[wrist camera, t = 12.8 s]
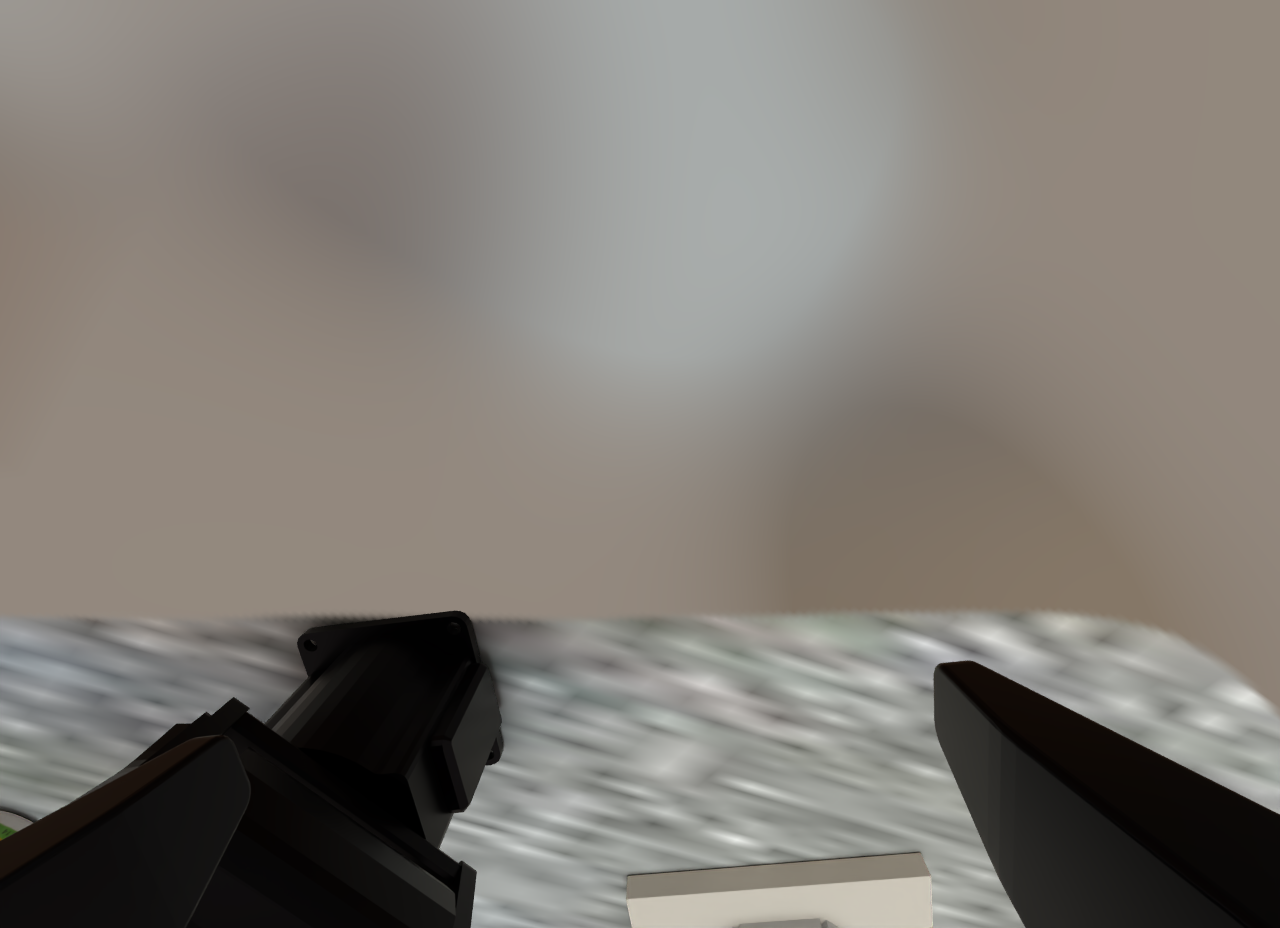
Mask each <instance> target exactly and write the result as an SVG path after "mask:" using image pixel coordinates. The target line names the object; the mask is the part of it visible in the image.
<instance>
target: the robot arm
mask: <svg viewBox="0 0 1280 928" xmlns="http://www.w3.org/2000/svg"><path fill="white" fill-rule="evenodd" d="M452 622H454V623H457V624H459V625H460V627H461V629H456V628H454V627H453V626H452V625H451V623H452ZM310 640H313V641H315V642H316V644H317V645H314V644H313V643H312V642H311V641H310ZM297 644H298V649H299V652H300V655H301V657H302V660H303V663H304V666H305V669H306V672H307V675H308V678H307V679H306V680H305V682H304V683H303V684H302V685H301V686H300V687H299V688H298V689H297V690H296V691H295V692H294V693H293V694H292V695H291V696H290V697H289V699H288V700H287V701H286V702H285V703H284V704H283V705H282V706H281V707H280V708H279V709H278V710H277V711H276V712H275V713H274V714H273V715H272V717H271V718H270V719H269V720H268V721H267V722H266V723H265V724H264V723H262V722H261V721H259V720H258V719H257V718H255V717H254V716H252V715H251V714H250V713H248V712H247V711H248V710H249V709H250V708H248V707H247V706H246V705H244V704H243V703H241V702H240V701H239V700H237V699H236V698H235V697H233V698H232V699H231V700H230V701H228V702H227V703H226V704H225V705H224V706H222V707H221V708H220V709H219V710H217V711H216V712H215V713H214V714H213V715H210V714H209V713H207V712H205V713H204V714H203V715H202V716H200V717H199V718H198V719H197V720H195V721H194V722H193V723H192V724H176V725H174V726H173V727H172V728H171V729H170V730H169V731H168V732H166V733H165V734H164V735H163V736H162V737H161V738H160V739H158V740H157V741H156V742H155V743H154V744H153V745H152V746H150V747H149V748H148V749H147V750H146V751H145V752H143V753H142V754H141V755H140V756H139V757H138V758H136V759H135V760H134V761H133V762H131V763H130V764H129V765H128V766H126V767H125V768H124V769H123V770H121V771H120V772H118V773H117V774H115V775H114V776H112V777H111V778H109V779H107V780H106V781H104V782H103V783H101V784H100V785H98V786H96V787H95V788H93V789H92V790H90V791H88V792H87V793H85V794H84V795H82V796H81V797H79V798H77V799H76V800H74V801H73V802H71V803H70V804H68V805H66V806H64V807H62V808H60V809H59V810H57V811H55V812H53V813H51V814H49V815H47V816H46V817H44V818H42V819H40V820H38V821H36V822H34V823H32V824H31V825H29V826H27V827H25V828H23V829H21V830H19V831H17V832H16V833H14V834H12V835H10V836H8V837H6V838H4V839H2V840H1V841H0V928H471V919H472V910H473V901H474V892H475V883H476V874H477V872H476V870H474V869H473V868H472V867H470V866H469V865H467V864H466V863H465V862H463V861H461V862H459V863H458V862H456V861H455V860H454V859H452V858H451V857H449V856H448V855H447V854H445V853H444V852H442V851H441V850H440V849H439V848H440V845H441V843H442V840H443V838H444V836H445V833H446V831H447V828H448V826H449V824H450V821H451V819H452V816H453V814H454V813H459V812H464V811H465V810H466V809H467V807H468V806H469V805H470V803H471V801H472V798H473V795H474V793H475V790H476V788H477V785H478V782H479V780H480V777H481V775H482V772H483V770H484V767H485V765H492V764H495V763H497V762H498V761H499V759H500V757H501V754H502V752H503V743H502V739H501V735H500V731H499V728H500V726H501V723H502V719H501V715H500V711H499V707H498V704H497V700H496V696H495V692H494V688H493V684H492V680H491V676H490V672H489V669H488V667H487V666H486V665H485V664H484V663H483V662H481V658H480V655H479V651H478V647H477V643H476V639H475V635H474V631H473V628H472V624H471V621H470V618H469V617H468V616H467V615H466V614H465V613H463V612H461V611H448V612H440V613H431V614H423V615H415V616H406V617H398V618H390V619H382V620H373V621H365V622H357V623H348V624H340V625H332V626H324V627H315V628H311V629H308V630H307V631H306V632H305V633H304V634H303V635H302V636H301V637H299V639H298V642H297ZM934 721H935V729H936V733H937V737H938V740H939V743H940V745H941V748H942V750H943V752H944V755H945V757H946V759H947V762H948V764H949V766H950V768H951V771H952V773H953V775H954V778H955V780H956V782H957V784H958V787H959V789H960V791H961V794H962V796H963V798H964V801H965V803H966V805H967V807H968V810H969V812H970V814H971V817H972V819H973V821H974V823H975V826H976V828H977V830H978V833H979V835H980V837H981V840H982V842H983V844H984V846H985V849H986V851H987V853H988V856H989V858H990V860H991V862H992V864H993V866H994V869H995V871H996V873H997V875H998V877H999V879H1000V881H1001V883H1002V885H1003V887H1004V889H1005V891H1006V893H1007V895H1008V896H1009V898H1010V900H1011V902H1012V904H1013V906H1014V908H1015V909H1016V911H1017V913H1018V915H1019V917H1020V918H1021V920H1022V922H1023V924H1024V926H1025V927H1026V928H1280V814H1278V813H1276V812H1274V811H1272V810H1270V809H1268V808H1266V807H1264V806H1262V805H1260V804H1258V803H1256V802H1254V801H1252V800H1250V799H1248V798H1246V797H1244V796H1242V795H1240V794H1238V793H1236V792H1234V791H1232V790H1230V789H1228V788H1226V787H1224V786H1222V785H1220V784H1218V783H1216V782H1214V781H1212V780H1210V779H1208V778H1206V777H1204V776H1202V775H1200V774H1198V773H1196V772H1194V771H1192V770H1190V769H1188V768H1186V767H1184V766H1182V765H1180V764H1178V763H1176V762H1174V761H1172V760H1170V759H1168V758H1166V757H1164V756H1162V755H1160V754H1158V753H1156V752H1154V751H1152V750H1150V749H1148V748H1146V747H1144V746H1142V745H1140V744H1138V743H1136V742H1134V741H1132V740H1130V739H1128V738H1126V737H1124V736H1122V735H1120V734H1118V733H1116V732H1114V731H1112V730H1110V729H1108V728H1106V727H1104V726H1102V725H1100V724H1098V723H1096V722H1094V721H1092V720H1090V719H1088V718H1086V717H1084V716H1082V715H1080V714H1078V713H1076V712H1074V711H1072V710H1070V709H1068V708H1066V707H1064V706H1062V705H1060V704H1058V703H1056V702H1054V701H1052V700H1050V699H1048V698H1046V697H1044V696H1042V695H1040V694H1038V693H1036V692H1034V691H1032V690H1030V689H1028V688H1027V687H1025V686H1023V685H1021V684H1019V683H1017V682H1015V681H1013V680H1011V679H1009V678H1007V677H1005V676H1003V675H1001V674H999V673H997V672H995V671H993V670H991V669H989V668H987V667H985V666H983V665H981V664H979V663H976V662H974V661H958V662H948V663H940V664H939V665H937V666H936V667H935V671H934ZM491 750H492V751H493V752H491Z"/></svg>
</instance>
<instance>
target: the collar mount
mask: <svg viewBox="0 0 1280 928" xmlns="http://www.w3.org/2000/svg"><path fill="white" fill-rule="evenodd" d="M626 901H627V906H628V911H629V915H630V920H631V925H632V928H933V920H932V889H931V875H930V873H929V870H928V868H927V866H926V864H925V862H924V859H923V857H922V855H921V853H911V854H898V855H885V856H873V857H860V858H848V859H835V860H822V861H810V862H797V863H785V864H772V865H759V866H747V867H734V868H722V869H709V870H697V871H684V872H671V873H659V874H646V875H634V876H628V878H627V893H626Z"/></svg>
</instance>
